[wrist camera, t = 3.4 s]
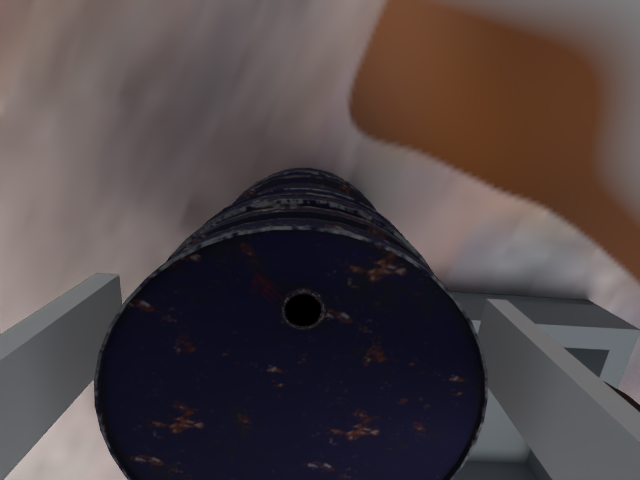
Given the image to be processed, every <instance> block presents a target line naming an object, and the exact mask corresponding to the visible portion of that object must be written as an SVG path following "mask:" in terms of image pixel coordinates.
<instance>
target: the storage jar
mask: <svg viewBox="0 0 640 480" xmlns="http://www.w3.org/2000/svg"><path fill="white" fill-rule="evenodd" d="M94 394H95V409H96V413H97V417H98V422H99V426H100V431H101V433H102V435H103V438H104V440H105V442H106V445H107V447H108V449H109V452H110V454H111V456H112V457H113V459H114V460H115V462H116V463H117V465H118V466H119V468H120V469H121V471H122V472H123V474H124V475H125V477H126V478H127V479H128V480H453V479H454V477H455V476H456V475H457V474H458V472H459V471H460V470H461V469H462V467H463V466H464V464H465V462H466V461H467V459H468V457H469V455H470V454H471V452H472V450H473V448H474V447H475V445H476V442H477V439H478V436H479V434H480V431H481V428H482V426H483V423H484V418H485V412H486V407H487V401H488V372H487V367H486V362H485V357H484V352H483V347H482V345H481V342H480V340H479V338H478V335H477V333H476V331H475V328H474V326H473V323H472V321H471V320H470V318H469V317H468V315H467V314H466V312H465V311H464V309H463V308H462V306H461V305H460V303H459V302H458V300H457V299H456V297H455V296H454V295H453V294H452V293H451V292H450V291H449V290H448V289H447V288H446V287H445V286H444V284H443V283H442V282H441V281H440V280H439V279H438V278H437V277H436V276H435V275H434V273H433V272H432V270H431V269H430V267H429V266H428V264H427V263H426V261H425V260H424V258H423V257H422V256H421V254H420V253H419V252H418V251H417V250H416V249H415V248H414V247H413V246H412V245H411V244H410V243H409V242H408V241H407V240H406V239H405V238H404V236H403V235H402V234H401V233H400V232H399V231H398V230H397V229H396V228H395V227H394V226H393V225H392V223H391V222H390V221H388V220H387V219H386V218H384V217H383V216H382V215H380V214H379V213H378V212H377V211H376V209H375V208H374V206H373V205H372V204H371V203H370V202H369V201H368V200H367V198H366V197H365V196H364V195H363V194H362V193H361V192H360V191H359V190H357V189H356V188H355V187H353V186H352V185H351V184H349V183H348V182H346V181H344V180H343V179H341V178H339V177H338V176H336V175H334V174H332V173H329V172H326V171H323V170H318V169H312V168H294V169H288V170H284V171H281V172H278V173H275V174H273V175H271V176H268V177H266V178H264V179H262V180H260V181H259V182H257V183H255V184H254V185H253V186H251V187H250V188H249V189H247V190H246V191H245V192H244V193H242V194H241V195H240V196H239V198H238V199H237V200H236V201H235V202H234V203H233V204H232V205H230V206H228V207H226V208H224V209H223V210H222V211H220V212H219V213H218V214H216V215H215V216H214V217H212V218H211V219H210V220H209V221H207V222H206V223H205V224H204V225H203V226H202V227H201V228H200V229H198V230H197V231H196V232H195V233H193V234H192V235H191V236H190V237H189V238H187V239H186V240H185V241H184V242H183V243H182V244H181V245H180V246H179V247H178V249H177V250H176V251H175V252H174V253H173V254H172V255H171V256H170V257H169V258H168V260H167V261H166V262H165V263H164V264H163V265H161V266H160V267H159V268H158V269H157V270H155V271H154V272H153V273H152V274H151V275H150V276H148V277H147V278H146V279H145V280H144V281H143V282H142V283H141V284H140V286H139V287H138V288H137V289H136V290H135V291H134V292H133V293H132V294H131V295H130V296H129V297H128V298H127V299H126V301H125V302H124V303H123V305H122V306H121V308H120V310H119V311H118V313H117V314H116V316H115V318H114V319H113V321H112V322H111V324H110V325H109V327H108V330H107V333H106V335H105V338H104V340H103V343H102V345H101V348H100V351H99V354H98V360H97V365H96V371H95V377H94Z"/></svg>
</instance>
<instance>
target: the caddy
mask: <svg viewBox="0 0 640 480" xmlns="http://www.w3.org/2000/svg"><path fill="white" fill-rule="evenodd" d="M451 293H452V294H453V295H454V296H455V297H456V299H457V300H458V302H459V303H460V305H461V306H462V308H463V309H464V311H465V312H466V314H467V315H468V317H469V318H470V320H471V321H472V323H473V326H474V328H475V331H476V333H477V335H478V331H479V327H480V323H481V319H482V315H483V311H484V307H485V303H486V299H499V300H508V301H509V302H510V303H511V304H512V305H513V306H515V307H516V308H517V309H518V310H519V311H521V312H522V313H523V314H524V315H525V316H526V317H528V318H529V319H530V320H531V321H532V322H534V323H535V324H536V325H537V326H538V327H539V328H541V329H542V330H543V331H544V332H545V333H547V334H548V335H549V336H550V337H551V338H552V339H554V340H555V341H556V342H557V343H558V344H560V345H561V346H562V347H563V348H564V349H565V350H567V351H568V352H569V353H570V354H571V355H573V356H574V357H575V358H576V359H577V360H578V361H580V362H581V363H582V364H583V365H584V366H586V367H587V368H588V369H589V370H590V371H591V372H593V373H594V374H595V375H596V376H597V377H599V378H600V379H601V380H602V381H605V382H606V383H608V384H610V385H611V386H613V387H615V388H616V389H618V387H619V384H620V381H621V379H622V376H623V374H624V371H625V369H626V366H627V364H628V361H629V359H630V356H631V354H632V351H633V349H634V346H635V344H636V341H637V339H638V336H639V334H640V329H638V328H636V327H635V326H633V325H631V324H629V323H628V322H626V321H624V320H622V319H621V318H619V317H617V316H615V315H614V314H612V313H610V312H609V311H607V310H605V309H603V308H602V307H600V306H598V305H596V304H595V303H593V302H591V301H589V300H575V299H559V298H543V297H527V296H512V295H496V294H480V293H464V292H451ZM453 480H552V479H551V477H550V476H549V474H548V473H547V471H546V470H545V469H544V467H543V466H542V464H541V463H540V461H539V460H538V459H537V457H536V456H535V454H534V453H533V451H532V450H531V448H530V447H529V446H528V444H527V443H526V441H525V440H524V438H523V437H522V436H521V434H520V433H519V431H518V430H517V428H516V427H515V426H514V424H513V423H512V421H511V420H510V418H509V417H508V415H507V414H506V413H505V411H504V410H503V408H502V407H501V405H500V404H499V403H498V401H497V400H496V398H495V397H494V395H493V394H492V393H491V391H490V390H489V388H488V401H487V407H486V412H485V418H484V423H483V426H482V428H481V431H480V434H479V436H478V439H477V442H476V445H475V447H474V448H473V450H472V452H471V454H470V455H469V457H468V459H467V461H466V462H465V464H464V466H463V467H462V469H461V470H460V471H459V472H458V474H457V475H456V476H455V477H454V479H453Z"/></svg>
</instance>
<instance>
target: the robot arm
mask: <svg viewBox="0 0 640 480" xmlns="http://www.w3.org/2000/svg"><path fill="white" fill-rule="evenodd" d="M121 306H122V298H121V288H120V278H119V274H103V273H96V274H94V275H93V276H91V277H90V278H88V279H86V280H85V281H83V282H82V283H80V284H79V285H77V286H75V287H74V288H72V289H71V290H69V291H68V292H66V293H65V294H63V295H61V296H60V297H58V298H57V299H55V300H54V301H52V302H50V303H49V304H47V305H46V306H44V307H43V308H41V309H40V310H38V311H36V312H35V313H33V314H32V315H30V316H29V317H27V318H25V319H24V320H22V321H21V322H19V323H18V324H16V325H15V326H13V327H11V328H10V329H8V330H7V331H5V332H4V333H2V334H0V480H4V479H5V477H6V476H7V475H8V474H9V473H10V472H11V471H12V470H13V468H14V467H15V466H16V465H17V464H18V463H19V462H20V461H21V460H22V458H23V457H24V456H25V455H26V454H27V453H28V452H29V451H30V450H31V448H32V447H33V446H34V445H35V444H36V443H37V442H38V441H39V439H40V438H41V437H42V436H43V435H44V434H45V433H46V432H47V431H48V429H49V428H50V427H51V426H52V425H53V424H54V423H55V422H56V420H57V419H58V418H59V417H60V416H61V415H62V414H63V413H64V412H65V410H66V409H67V408H68V407H69V406H70V405H71V404H72V403H73V402H74V400H75V399H76V398H77V397H78V396H79V395H80V394H81V393H82V391H83V390H84V389H85V388H86V387H87V386H88V385H89V384H90V383H91V381H92V380H93V379H94V377H95V371H96V365H97V360H98V354H99V351H100V348H101V345H102V343H103V340H104V338H105V335H106V333H107V330H108V327H109V325H110V324H111V322H112V321H113V319H114V318H115V316H116V314H117V313H118V311H119V310H120V308H121ZM478 338H479V340H480V342H481V345H482V347H483V352H484V357H485V362H486V367H487V372H488V388H489V390H490V391H491V393H492V394H493V395H494V397H495V398H496V400H497V401H498V403H499V404H500V405H501V407H502V408H503V410H504V411H505V413H506V414H507V415H508V417H509V418H510V420H511V421H512V423H513V424H514V426H515V427H516V428H517V430H518V431H519V433H520V434H521V436H522V437H523V438H524V440H525V441H526V443H527V444H528V446H529V447H530V448H531V450H532V451H533V453H534V454H535V456H536V457H537V459H538V460H539V461H540V463H541V464H542V466H543V467H544V469H545V470H546V471H547V473H548V474H549V476H550V477H551V479H552V480H640V405H639V404H638V403H637V402H635V401H634V400H633V399H632V398H631V397H629V396H628V395H627V394H625V393H623V392H621V391H620V390H618V389H616V388H615V387H613V386H611V385H610V384H608V383H606V382H605V381H602V380H601V379H600V378H599V377H597V376H596V375H595V374H594V373H593V372H591V371H590V370H589V369H588V368H587V367H586V366H584V365H583V364H582V363H581V362H580V361H578V360H577V359H576V358H575V357H574V356H573V355H571V354H570V353H569V352H568V351H567V350H565V349H564V348H563V347H562V346H561V345H560V344H558V343H557V342H556V341H555V340H554V339H552V338H551V337H550V336H549V335H548V334H547V333H545V332H544V331H543V330H542V329H541V328H539V327H538V326H537V325H536V324H535V323H534V322H532V321H531V320H530V319H529V318H528V317H526V316H525V315H524V314H523V313H522V312H521V311H519V310H518V309H517V308H516V307H515V306H513V305H512V304H511V303H510V302H509V301H508V300H499V299H486V303H485V307H484V311H483V315H482V319H481V323H480V327H479V331H478Z"/></svg>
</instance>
